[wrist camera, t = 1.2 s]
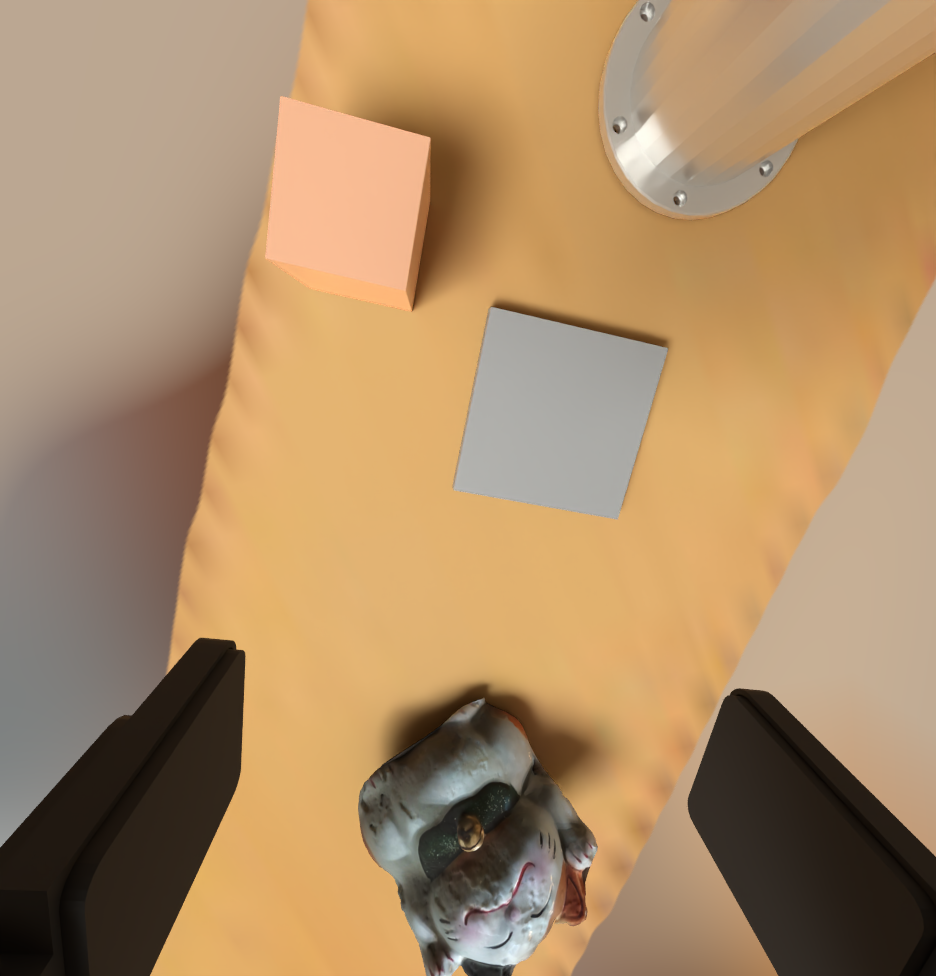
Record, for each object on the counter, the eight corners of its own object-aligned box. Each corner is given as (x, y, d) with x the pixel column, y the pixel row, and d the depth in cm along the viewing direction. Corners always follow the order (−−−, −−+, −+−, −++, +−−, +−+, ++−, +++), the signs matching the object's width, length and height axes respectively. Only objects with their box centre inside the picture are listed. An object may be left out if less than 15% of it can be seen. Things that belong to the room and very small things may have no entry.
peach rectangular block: (322, 174, 27) (280, 95, 19) (430, 202, 28) (430, 137, 20) (309, 288, 28) (265, 258, 21) (411, 311, 29) (405, 291, 22)
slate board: (488, 309, 30) (490, 306, 28) (659, 348, 31) (668, 348, 30) (452, 485, 32) (453, 490, 31) (611, 514, 34) (617, 519, 33)
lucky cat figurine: (515, 671, 37) (640, 867, 26) (522, 737, 44) (621, 909, 34) (333, 772, 32) (397, 1051, 22) (375, 826, 40) (437, 1053, 30)
